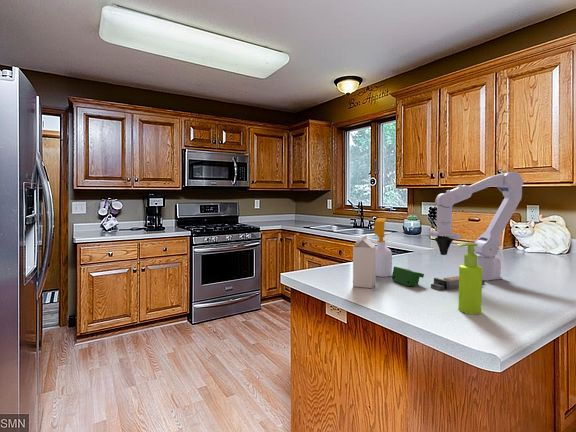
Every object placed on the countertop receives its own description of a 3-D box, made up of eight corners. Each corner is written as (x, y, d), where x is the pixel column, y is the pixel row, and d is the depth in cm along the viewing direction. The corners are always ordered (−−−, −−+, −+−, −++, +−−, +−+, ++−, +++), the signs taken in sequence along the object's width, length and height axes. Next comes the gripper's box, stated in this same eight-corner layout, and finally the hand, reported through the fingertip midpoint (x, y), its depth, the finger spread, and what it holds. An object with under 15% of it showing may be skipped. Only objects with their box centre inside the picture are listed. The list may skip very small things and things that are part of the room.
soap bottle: (394, 273, 147) (394, 217, 145) (388, 278, 139) (388, 219, 138) (374, 271, 151) (374, 217, 150) (367, 275, 144) (367, 218, 142)
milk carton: (375, 284, 129) (375, 235, 128) (371, 288, 123) (372, 237, 122) (357, 282, 132) (357, 234, 131) (352, 286, 126) (352, 236, 125)
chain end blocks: (471, 280, 134) (471, 273, 134) (485, 284, 128) (485, 276, 128) (427, 286, 125) (427, 278, 125) (440, 290, 120) (440, 282, 120)
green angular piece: (417, 296, 128) (428, 277, 125) (404, 294, 126) (416, 274, 123) (400, 278, 138) (410, 259, 135) (388, 275, 136) (398, 257, 133)
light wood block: (461, 283, 130) (461, 275, 130) (468, 286, 127) (469, 277, 127) (443, 286, 127) (443, 277, 127) (451, 288, 124) (451, 280, 123)
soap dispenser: (451, 307, 101) (452, 242, 100) (472, 307, 102) (474, 241, 101) (462, 314, 95) (464, 244, 94) (485, 313, 96) (487, 244, 95)
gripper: (423, 221, 144) (423, 252, 145) (451, 223, 131) (451, 258, 131) (436, 220, 147) (435, 251, 147) (464, 223, 133) (464, 256, 134)
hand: (443, 254), depth 140 cm, fingers closed
